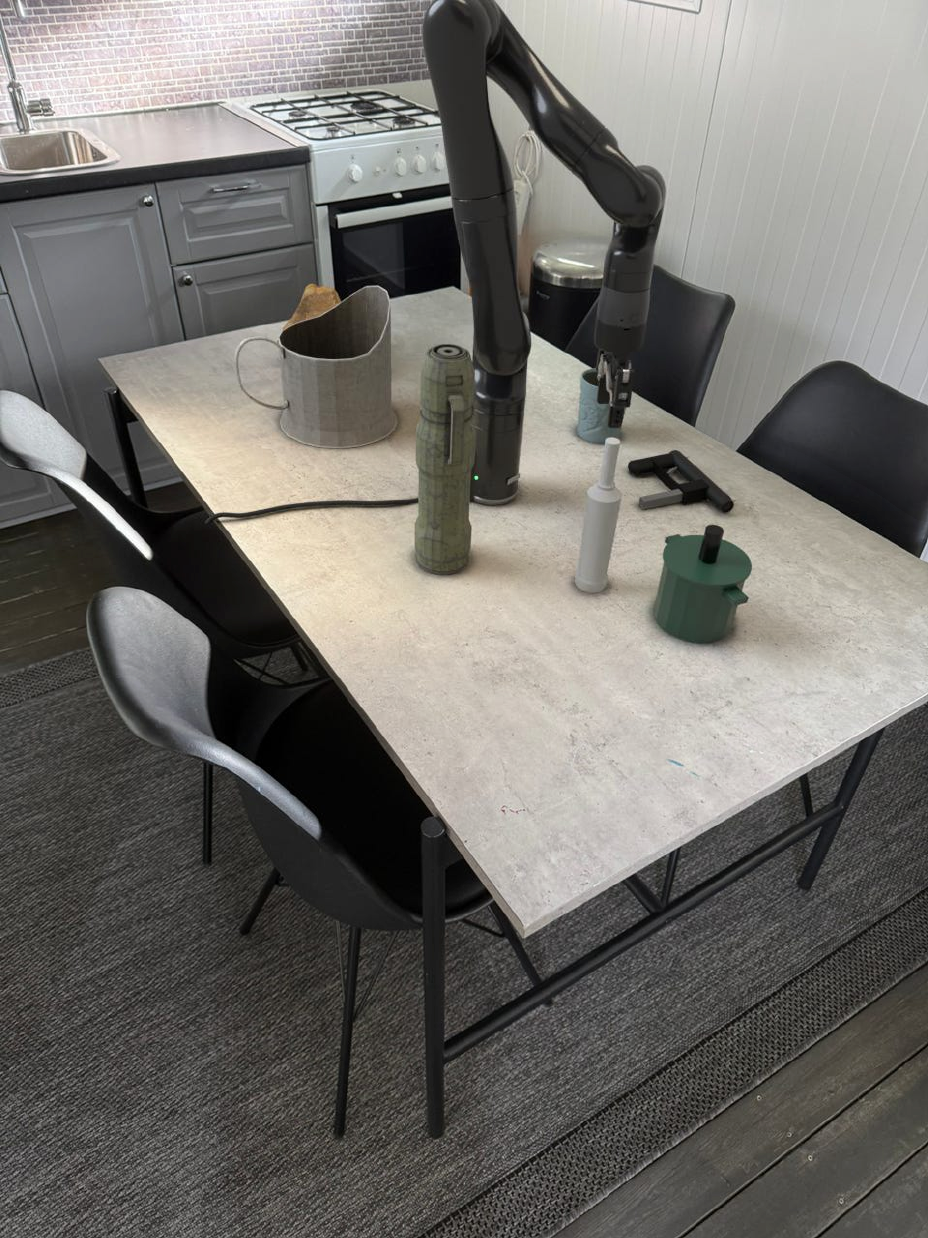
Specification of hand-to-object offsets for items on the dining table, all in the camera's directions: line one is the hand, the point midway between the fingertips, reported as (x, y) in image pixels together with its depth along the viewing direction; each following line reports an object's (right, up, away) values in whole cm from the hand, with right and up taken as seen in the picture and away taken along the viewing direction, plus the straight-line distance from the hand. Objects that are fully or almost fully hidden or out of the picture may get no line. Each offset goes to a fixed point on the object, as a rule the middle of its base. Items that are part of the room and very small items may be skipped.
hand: (608, 414), depth 146 cm
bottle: (-3, -28, -3) cm, 28 cm away
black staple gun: (+15, -10, +21) cm, 27 cm away
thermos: (-27, -23, +1) cm, 36 cm away
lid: (+12, -25, -15) cm, 31 cm away
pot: (+11, -33, -9) cm, 36 cm away
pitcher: (-52, +6, +36) cm, 63 cm away
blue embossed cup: (+4, +5, +38) cm, 38 cm away
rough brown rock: (-56, +24, +59) cm, 85 cm away
